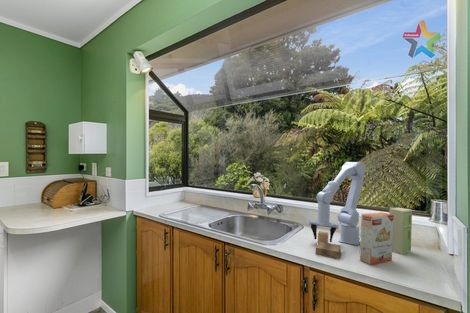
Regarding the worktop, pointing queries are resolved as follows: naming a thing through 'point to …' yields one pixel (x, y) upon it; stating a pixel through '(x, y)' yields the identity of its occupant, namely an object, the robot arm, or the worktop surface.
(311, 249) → the worktop surface
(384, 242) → the cracker box
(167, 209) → the worktop surface
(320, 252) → the walnut block
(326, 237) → the tan block
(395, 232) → the toy refrigerator
